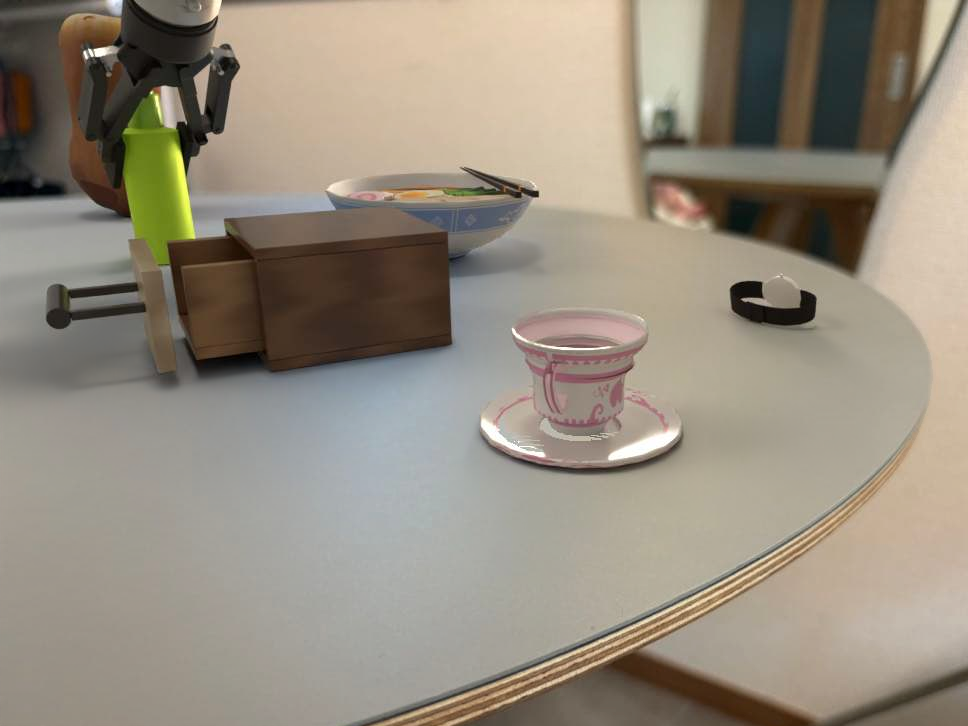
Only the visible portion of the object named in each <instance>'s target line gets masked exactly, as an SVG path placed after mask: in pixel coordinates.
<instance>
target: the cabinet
mask: <svg viewBox="0 0 968 726" xmlns="http://www.w3.org/2000/svg"><path fill="white" fill-rule="evenodd" d="M223 223H224V232H225V236H230V235H232V236H233V237H234V238H235V239H236V240H237V241H238V242H239V243H240V244H241V245H242V246H243V247H244V248H245V249H246V250H247V251H248V252H249V253H250V254H251V255H252V256H253V257H254V258H255V260H254V261H255V270H256V278H257V286H258V294H259V302H260V310H261V318H262V326H263V334H264V342H265V350H263V351H256V353H257V355H258V357H259V358H260V359H261V361H262V362H263V364H264V365H265V367H266V368H267V369H268V372H269V373H272V372H280V371H286V370H293V369H299V368H306V367H313V366H317V365H318V366H319V365H326V364H332V363H338V362H339V363H340V362H346V361H351V360H357V359H365V358H372V357H379V356H384V355H391V354H397V353H405V352H411V351H416V350H423V349H430V348H438V347H443V346H450V345H452V344H453V335H452V307H451V306H452V305H451V282H450V281H451V279H450V278H451V277H450V258H449V248H448V231H446V230H443V229H441V228H439V227H437V226H434V225H432V224H430V223H428V222H426V221H423V220H421V219H419V218H417V217H415V216H412V215H410V214H408V213H406V212H404V211H401V210H399V209H397V208H395V207H392V206H384V207H371V208H357V209H344V210H336V209H332V210H331V209H330V210H318V211H306V212H305V211H303V212H292V213H280V214H267V215H265V214H264V215H252V216H239V217H225V218H223Z"/></svg>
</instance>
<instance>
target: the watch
mask: <svg viewBox="0 0 968 726" xmlns="http://www.w3.org/2000/svg"><path fill="white" fill-rule="evenodd" d="M729 299H730V308H731V311H732V312H733V313H734V314H736V315H737V316H739V317H741V318H744V319H746V320H748V321H750V322H755V323H758V324H768V325H772V326H783V327H784V326H785V327H789V326H790V327H792V326H801V325H805V324H807V323H810V322H811V321H814V319H815V317H816V312H817V301H818V297H817V296H816V295H815V294H814V293H812V292H810V291H807V290H804V289H803V288H800V287H799V285H798V284H797V283H796V282H795V280H793V278H790V276H789V277H788V276H785V275H784V273H779V275H777V276H773V277H772V278H770V279H768V280H767V281H764V280H762V281H759V280H742V281H738V282H736V283H734V284H732V285H731V286H730V288H729ZM743 299H744V300H743ZM745 299H762V300H765V301H766V302H767V303H768V304H769V305H770V306H768V305H762V304H759V303H754V302H752V301H748V300H746V301H745Z"/></svg>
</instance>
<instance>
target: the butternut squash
mask: <svg viewBox="0 0 968 726" xmlns="http://www.w3.org/2000/svg"><path fill="white" fill-rule="evenodd" d="M120 30H121V17H117V16H116V17H115V16H110V15H102V14H98V13H91V12H90V13H89V12H88V13H75V14H72V15H70V16H68V17H67V18H65V20H64V21H63V23H62V25H61V27H60V30H59V34H58V44H59V49H60V54H61V62H62V74H63V79H64V80H63V81H64V83H65V88H66V94H67V100H68V105H69V113H70V118H71V136H70V139H69V147H68V151H69V153H68V154H69V155H68V164H69V168H70V173H71V177H72V178H73V180H75V182H76V183H77V184H78V186H79V187H80V189H81V190H82V191H83V192H84V193H85V194H86V195H87V196H88V198H90V200H91V201H93V203H95V204H96V205H98V206H100V207H102V208H105V209H107V210H111V211H114V212H115V213H117V214H118V215H120V216H121V217H131V213H130V208H129V202H128V197H127V192H126V186H125V181H124V176H123V174H122V183H121V188H120V189H113V188H112V185H111V183H110V181H109V178H108V176H107V173H106V171H105V169H104V167H105V163H103V162H102V160H101V158H100V156H99V153H98V151H97V140H96V141H92V142H91V141H87V140H86V139H85V137H84V134H83V132H82V129H81V127H80V125H79V122H78V120H77V114H78V107H79V100H80V93H81V87H82V80H83V73H84V66H85V61H84V59H83V56H82V53H81V50H80V45H81V44H83V43H85V42H89V43H92V44H93V45H94V46H95V49H98V48H103V47H107V46H112V45H113V42H114V40H115V38H116V37H117V36H118V35H119V33H120ZM122 66H123V65H122V63H121V62H120V61H119V62H116V63H115V64H114V65H113V70H112V71H111V73H112V76H110V77H107V80H108V89H107V95H106V100H105V105H106V103H107V101H108V99H109V98H110V96H111V94H112V92H113V90H114V88H115V87H116V85H117V83H118V81H119V79H120V77H121V75H122ZM152 90H153V92H154V93H157V94H159V97H160V101H162V86H161V87H156V88H153V89H152ZM104 107H105V106H104ZM164 127H166V125H165V124H164ZM127 128H129V127H128V125H127V127H126V128H125V129H127Z"/></svg>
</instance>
